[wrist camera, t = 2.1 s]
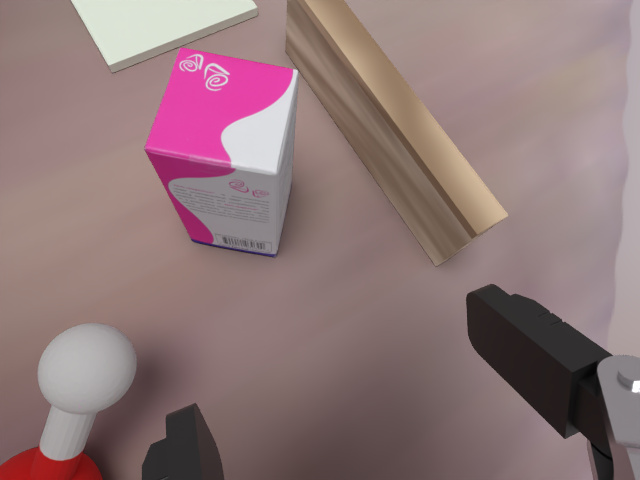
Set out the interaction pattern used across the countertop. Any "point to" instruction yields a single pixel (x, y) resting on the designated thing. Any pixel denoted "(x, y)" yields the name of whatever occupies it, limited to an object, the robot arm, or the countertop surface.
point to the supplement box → (227, 148)
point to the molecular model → (75, 400)
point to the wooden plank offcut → (390, 128)
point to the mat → (155, 25)
